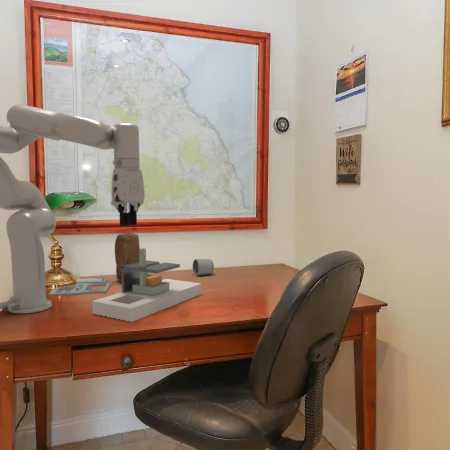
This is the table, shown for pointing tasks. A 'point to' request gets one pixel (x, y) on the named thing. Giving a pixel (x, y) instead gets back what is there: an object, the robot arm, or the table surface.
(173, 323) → the table surface
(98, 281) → the blue-grey slotted plate
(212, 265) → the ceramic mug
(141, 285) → the green peg stand
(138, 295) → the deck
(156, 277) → the orange block
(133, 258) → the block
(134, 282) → the grey overhanging bracket
